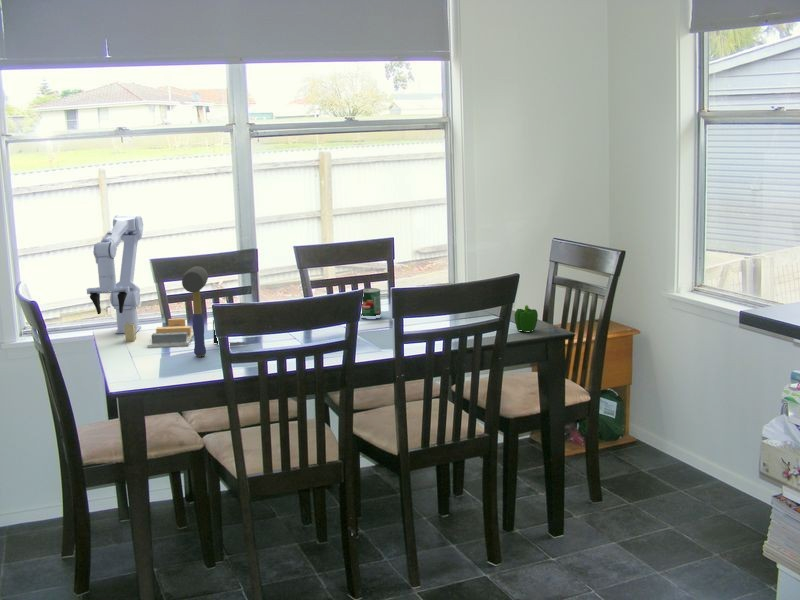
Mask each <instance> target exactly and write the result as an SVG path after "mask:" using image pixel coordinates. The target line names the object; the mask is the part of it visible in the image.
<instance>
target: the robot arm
mask: <svg viewBox="0 0 800 600" xmlns="http://www.w3.org/2000/svg"><path fill="white" fill-rule="evenodd" d="M112 226H113V228H111V230H108V231H107V232H106V233H105V235H104V236H103V238H102V239H101V240H100V241H99V242H96V243H95V244H94V245H93V251H92V252H93V256H94V260H95V264H97V273H98V284H99V285H98V286H99V287H88V288H86V294H87V295H89V298H90V300H91V302H92V303H93V305H94V307H95V310H96V313H97V315H101V313H102V310H101V309H102V308H101V294H110V295H109V303H110V305H111V307H113V309H114V310H115V313H116V325H117V326H116V327H117V330H115V331H114V334H125V329H124V325H125V324H126V323H135V330H136V333H137V332H138V331H140V329H141V328H142V326H141V325H139V317H138V310H137V307H138V306H140V303H141V293H140V292H141V290H140V287H139V286H138V285H137V284H135V283H134V279H135V276H134V275H135V267H136V259H137V249H138V242H139V241H140V240H141V239H143V238H142V237H143V231H144V221H143V218H142V216H141V215H140V214H136V215H114V217H113V220H112ZM121 242H123V249H122V255H121V256H122V257H121V268H120V273H119V275H120V276H119V281H118V282H117V279H116V268H115V257H116V256H117V250H118V247H119V245H120V244H121Z"/></svg>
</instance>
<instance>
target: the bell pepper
mask: <svg viewBox="0 0 800 600" xmlns="http://www.w3.org/2000/svg"><path fill="white" fill-rule="evenodd" d="M538 316H539V315H538V311H537V309H534V308H533V309H531V308H530V307H529V305H528V304H526V305H524V309H522V308H516V310H515V312H514V322H515V327H516V330H517V331H518V330H522V331H532V330H533V331H534V330H535V329H536V327H537V323H538ZM533 331H532V332H533Z"/></svg>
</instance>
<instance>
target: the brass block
mask: <svg viewBox="0 0 800 600" xmlns="http://www.w3.org/2000/svg"><path fill="white" fill-rule="evenodd" d="M124 329H125V333H124V339H125V340H124V341H125V343H132V342H133V341H134V342H135V341H136V340H137V332H136V330H135V323H126V324H125V325H124Z"/></svg>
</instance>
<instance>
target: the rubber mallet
mask: <svg viewBox="0 0 800 600" xmlns="http://www.w3.org/2000/svg"><path fill="white" fill-rule="evenodd" d="M208 279H209V275H208V272H207V270H206V269H205V268H204V267H202V266H199V265H198V266H197V265H196V266H193V267H190V268H189V269H188V270H186V272H185V273H184V274H183V276H182V279H181V285H182V287H183V289H184V290H186V292H189V293H192V304H193V305H192V306H193V307H192V308H193V309H192V310H193V313H192V314H193V315H192V328H193V333H194V336H193V341H194V349H193V353H194V354H195V356H196V357H199V358H201V356H202V357H205V356H206V352H207V347H206V344H205V321H204V316H203V313H202V302H201V301H202V299H201V290H202V289H203V288H204V287H205V286H206V284H207V282H208ZM204 355H205V356H204Z"/></svg>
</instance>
